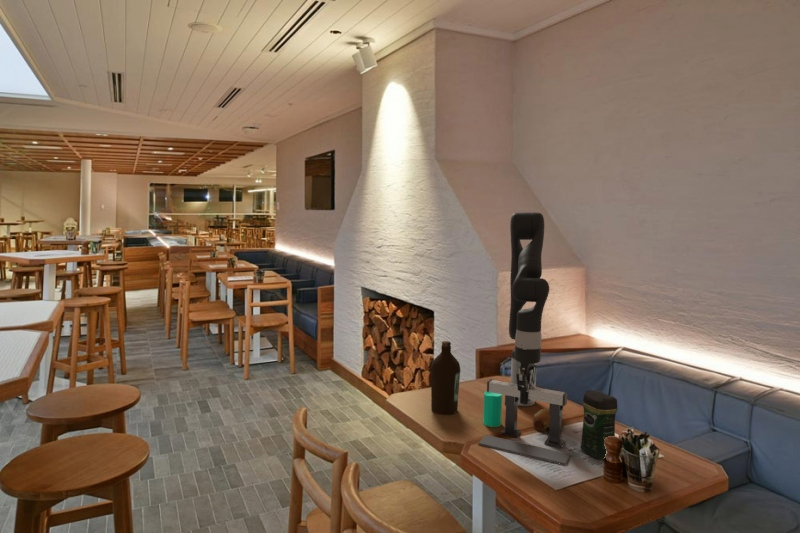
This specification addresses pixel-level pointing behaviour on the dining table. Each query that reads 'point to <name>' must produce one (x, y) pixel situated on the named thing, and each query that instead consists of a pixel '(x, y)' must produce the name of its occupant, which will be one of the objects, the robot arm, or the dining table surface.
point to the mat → (525, 449)
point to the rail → (533, 392)
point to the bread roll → (543, 421)
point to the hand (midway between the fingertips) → (525, 401)
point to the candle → (492, 409)
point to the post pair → (512, 431)
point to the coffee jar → (597, 422)
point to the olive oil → (445, 381)
